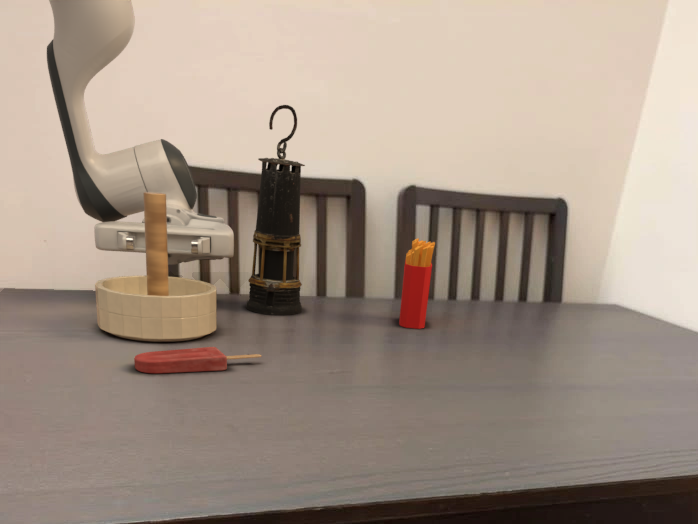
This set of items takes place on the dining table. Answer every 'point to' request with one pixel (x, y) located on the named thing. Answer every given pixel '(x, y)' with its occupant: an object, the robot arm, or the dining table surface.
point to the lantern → (277, 234)
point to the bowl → (156, 309)
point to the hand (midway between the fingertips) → (162, 246)
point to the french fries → (416, 284)
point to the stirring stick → (156, 243)
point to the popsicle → (185, 360)
